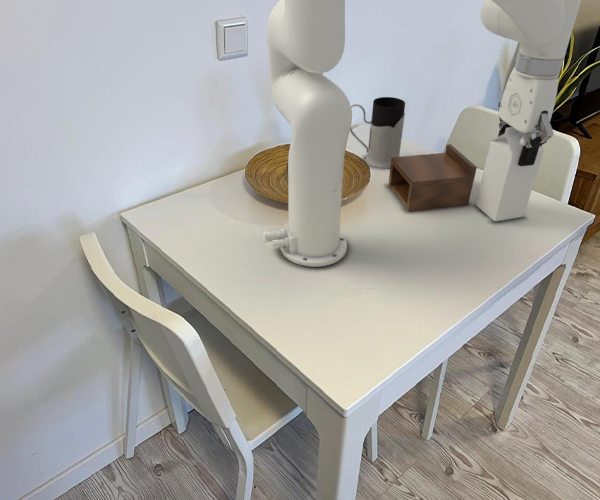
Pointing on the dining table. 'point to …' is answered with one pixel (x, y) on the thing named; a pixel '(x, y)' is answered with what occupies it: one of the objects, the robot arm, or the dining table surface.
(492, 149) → the milk carton
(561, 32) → the robot arm
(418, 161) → the brown wooden box
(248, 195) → the dining table surface
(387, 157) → the glass holder
